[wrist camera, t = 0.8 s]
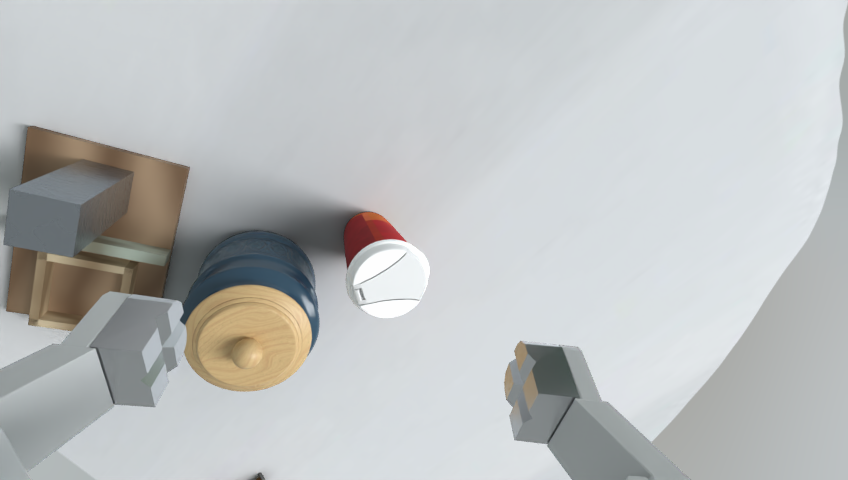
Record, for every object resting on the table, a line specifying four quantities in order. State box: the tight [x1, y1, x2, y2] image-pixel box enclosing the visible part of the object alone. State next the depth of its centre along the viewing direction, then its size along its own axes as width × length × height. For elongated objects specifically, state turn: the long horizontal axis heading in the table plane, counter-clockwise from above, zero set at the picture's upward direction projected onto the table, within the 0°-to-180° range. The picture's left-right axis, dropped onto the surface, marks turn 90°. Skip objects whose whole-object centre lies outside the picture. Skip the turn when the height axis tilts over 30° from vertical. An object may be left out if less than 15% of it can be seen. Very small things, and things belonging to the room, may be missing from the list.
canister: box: [180, 231, 319, 391], centre depth 47 cm, size 13×13×18 cm
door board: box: [4, 126, 190, 331], centre depth 48 cm, size 14×20×3 cm
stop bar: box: [4, 159, 134, 257], centre depth 41 cm, size 4×4×13 cm
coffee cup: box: [344, 212, 430, 318], centre depth 50 cm, size 8×8×15 cm
